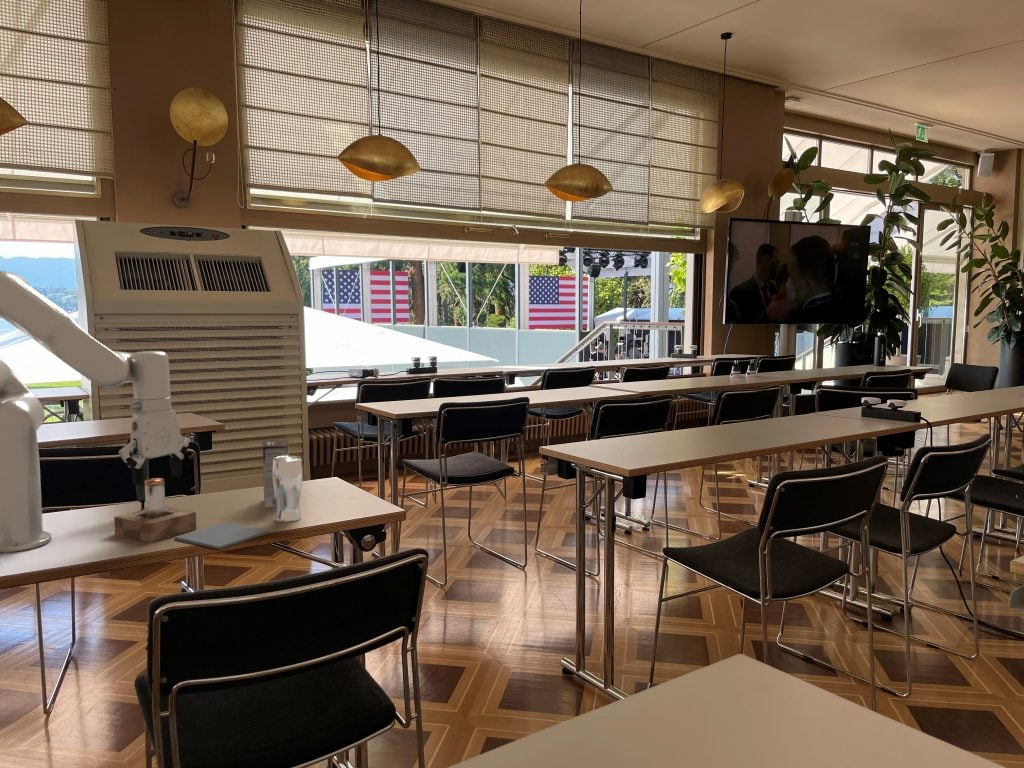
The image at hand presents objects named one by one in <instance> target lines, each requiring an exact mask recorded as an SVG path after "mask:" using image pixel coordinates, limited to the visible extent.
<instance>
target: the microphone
mask: <svg viewBox="0 0 1024 768" xmlns="http://www.w3.org/2000/svg"><path fill="white" fill-rule="evenodd" d="M130 442H131V437H129V439H128V440H127V442H126V445H127V444H128V443H130ZM126 445H125V446H126ZM129 455H130V457H131V458H132V457H133V455H132V452H131V451H130V452H129ZM149 461H150V460H149V459H147V458H146V459H145V461H144V462H143V464H142V466H141V468H143V469H144V482H145V480H147V479H150V478H149V477H150V475H149V471H150V470H149V467H150V465H149V463H150V462H149ZM135 491H136V500H137V501H138V503H140V504H141V505H140V507H141V508H140V510H144V509H146V505H145V484H144V486H137V485H135ZM140 510H139V511H140Z"/></svg>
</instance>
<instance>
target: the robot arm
mask: <svg viewBox="0 0 1024 768" xmlns="http://www.w3.org/2000/svg"><path fill="white" fill-rule="evenodd" d="M0 318H1V319H3V320H5V321H6V322H8V323H9V324H10V325H12V326H13V327H15V328H17V329H18V330H20V331H21V332H23V333H24V334H25V335H27V336H28V337H30V338H32V339H33V340H34V341H35V342H37V343H38V344H40V345H41V346H42V347H43V348H44V349H45V350H46V351H48V352H50V353H51V354H53V355H54V356H55V357H57V358H58V359H59V360H60V361H62V362H63V363H65V364H66V365H67V366H69V367H70V368H72V369H73V370H74V371H75V372H77V373H79V374H80V375H81V376H83V377H85V378H86V379H88V380H89V381H90V382H92V383H94V384H96V385H97V386H99V387H102V388H104V389H105V388H106V389H113V388H116V387H119V386H121V385H123V384H127V383H132V388H133V389H132V390H133V403H131V404H130V405H129V408H130V409H131V410H134V413H133V414H132V416H131V423H130V438H131V442H130V443H128V444H127V443H126V444H127V445H125V446H123V447H122V448H121V449H119V451H118V455H119V456H120V458H121V460H122V462H123V463H124V464H125V465H127V467H128V468H130V472H131V481H132V485H134V486H136V485H137V486H144V484H145V482H144V469H143V468H141V466H142V464H143V462H144V461H145V459H146V458H147V459H156V458H159V457H165V456H170V457H171V458H169V472H170V476H171V477H177V478H180V477H182V476H183V472H182V471H183V467H182V466H183V464H182V460H184V458H185V456H184V455H185V454H186V453H187V451H188V447H189V444H190V442H191V441H190V440H191V439H190V438H189V437H187V436H185V435H182V434H181V430H180V429H181V428H180V423H179V420H178V416H177V413H176V410H175V409H172V397H171V396H172V395H171V393H172V392H171V380H170V377H171V376H170V363H169V356H168V354H167V353H166V352H165V351H161V350H151V351H150V350H147V351H146V350H145V351H137V352H129V351H128V352H127V351H116V350H114V351H113V350H111V349H110V348H108V347H107V346H106V345H104V344H102V343H101V342H99V341H98V340H97V339H95V338H94V337H92V336H91V334H89V333H88V332H87V331H85V330H84V329H83V328H82V327H81V326H80V325H79V323H77V322H76V320H75V319H74V317H73V316H71V314H70V313H69V312H67V311H66V310H65V309H64V308H62V307H60V306H59V305H57V304H56V303H55V302H53V301H51V300H50V299H48V297H46V296H45V295H43V294H41V293H40V292H39V291H37V290H36V289H35V288H33V286H31V285H30V283H29V282H28V281H27V279H26V278H24V277H23V276H21V275H20V274H17V273H14V272H10V271H6V270H0ZM44 420H45V410H44V406H43V405H42V403H41V401H40V400H39V398H37V396H36V395H35V394H34V392H32V391H31V390H30V388H29V387H27V385H26V383H24V382H23V381H22V380H21V379H20V377H19V376H18V375H17V374H16V373H15V372H14V370H13V369H12V368H11V367H10V366H9V365H8V364H6V363H5V361H3V360H2V359H0V553H11V552H12V553H13V552H18V551H26V550H31V549H34V548H38V547H40V546H41V547H42V546H43V545H46V544H48V543H49V542H51V540H52V539H53V538H52V534H51V533H50V532H48V531H44V529H43V509H42V507H43V506H42V488H41V487H42V485H41V468H40V453H39V444H38V436H37V430H38V429H40V427H41V426H42V425H43V423H44ZM130 451H131V452H132V455H133V457H131V456H130V455H129V452H130Z"/></svg>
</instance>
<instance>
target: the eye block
mask: <svg viewBox="0 0 1024 768" xmlns="http://www.w3.org/2000/svg"><path fill="white" fill-rule="evenodd" d="M196 516H197V512H196V511H194V510H193V511H192V510H188V509H182V508H176V507H173V506H172V507H171V506H166V505H165V516H163V517H159V518H155V519H149V518H146V508H145V509H144V510H137V511H133V512H129V513H125V514H120V515H116V516H114V519H113V520H114V534H115V535H116V536H117V535H118V536H121V537H126V538H130V539H135V540H139V541H143V542H148V543H152V542H155V541H159V540H163V539H166V538H169V537H173V536H177V535H181V534H182V533H183V534H185V533H186V532H187V533H188V532H191V531H195V530H196V529H197V517H196Z"/></svg>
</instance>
